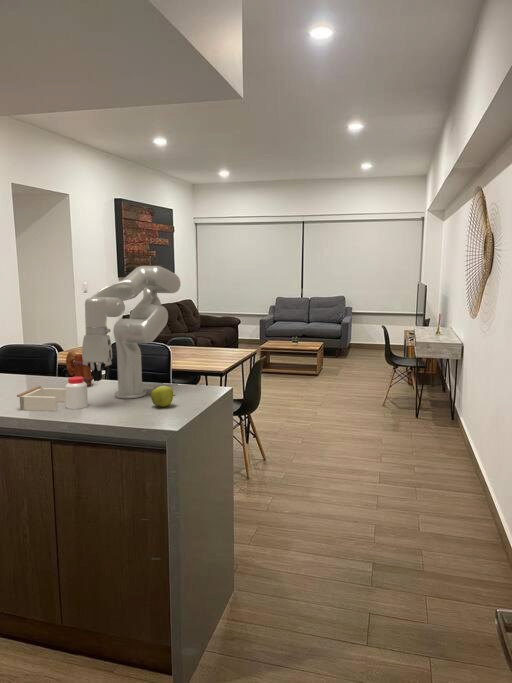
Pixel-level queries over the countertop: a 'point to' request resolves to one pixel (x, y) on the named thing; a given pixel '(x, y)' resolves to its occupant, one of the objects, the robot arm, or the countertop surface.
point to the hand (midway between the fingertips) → (97, 380)
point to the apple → (162, 396)
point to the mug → (78, 367)
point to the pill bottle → (76, 393)
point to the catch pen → (42, 398)
